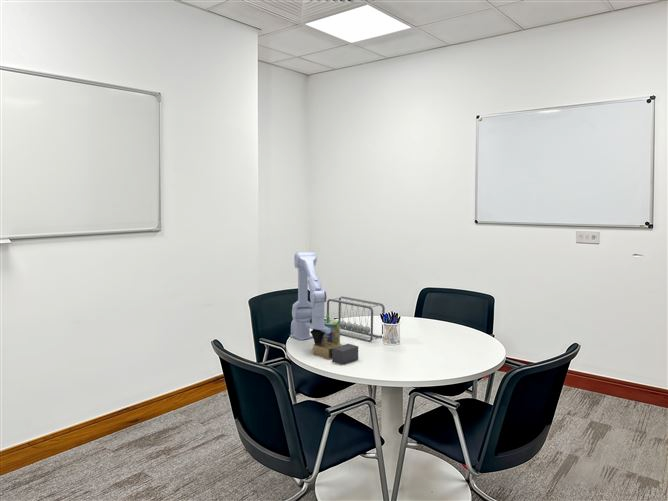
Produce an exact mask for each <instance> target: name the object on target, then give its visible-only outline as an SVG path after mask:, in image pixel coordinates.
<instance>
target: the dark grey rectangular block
mask: <svg viewBox="0 0 668 501" xmlns="http://www.w3.org/2000/svg"><path fill="white" fill-rule="evenodd" d="M331 359H332V360H331V361H332V363H334V362H335V363H334V364H337V363H338V365H341V366H344V365H347V364H350V363H352V362H356V361H359V346H358V345H355V344H350V343H346V344H345V343H344V344H341V346H338V347H335V348H332V352H331Z"/></svg>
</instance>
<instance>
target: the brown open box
mask: <svg viewBox="0 0 668 501" xmlns="http://www.w3.org/2000/svg"><path fill="white" fill-rule="evenodd" d="M338 346H342V344H339V345H337V344H334V343H330V342H327V341H325V342H321V343H317V344H315V343H314V344H312V354H313V355H314V356H317V357H320V358H322V357H323V359H325V358H326V360H331V359H332V358H331V352H332V348H335V347H338Z"/></svg>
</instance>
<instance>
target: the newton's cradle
mask: <svg viewBox="0 0 668 501" xmlns="http://www.w3.org/2000/svg"><path fill="white" fill-rule="evenodd" d="M347 300H348V301H347ZM330 302H332V303H338V320H337V321H340V330H344V331H349V332H353V333H356V332H357V334H360V335H366V336H369V337H370V338H369V339H367V338H363V337H360V336H356V335H351V334H347V333H342V332H340V336H343V337H347V338H351V339H355V340H360V341H364V342H367V343H370V342H372V341H373V340H377V339H382V334H383V325H382V324H381V335H378V334H374V309H373V308H374V307H378V306H381V308H382V309H381V310H382V311H381V315H382V314H385V312H386V311H385V305H384V304H383V303H380V302H376V301H370V300H365V299H359V298H354V297H353V298H352V297H348V296H343V295H342V296H340V297H336V298H328V299H327V300H326V315H327V314H328V315H329V316H330ZM342 304H343V305H345V308H344V309H345V310H346V312H344V314H343V316H345V314H349V313H348V311H349V310H347V306H348V305H349V306H351V308H350V310H353V309H354V307H357V311H360V309H359V308H363V312H362V313H361V317H363V315H364V314H363V313H364V312H366V311H365V309H368V310H369V311H370V313H367V314H368V315H367V318H369V316H370V326H368V325H369V324H368V322H369V321H367V319H366V317H364V318H365V319H364V322H366V325H365V326H364V325H363V324H362V322H363V320H361V318H360V315H358V319H359V320H360V323H359V325H358V324H357V323H356V322H357V320H354V323H352V322H351V320H350V318H347V320H348V322H346V321H345V318H342V312H343V311H342V310H343V309H342ZM353 306H354V307H353ZM355 313H356V314H355V315H354V313H353V315H352V313H350V315H349V317H351V316H353V318H355V317H354V316H357V314H358V312H355ZM329 318H330V317H329ZM329 318H328V320H329ZM341 318H342V319H341Z"/></svg>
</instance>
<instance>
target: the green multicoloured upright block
mask: <svg viewBox="0 0 668 501" xmlns="http://www.w3.org/2000/svg"><path fill="white" fill-rule="evenodd" d="M328 318H329V320H328ZM324 326H326V327H328V328H330V329H331V333H328V334H327V333H326V332H325V334H324V336H323V338H322V341H321V342H325V341H327V342H330V343H334V344H337V345H341V344H340V342H341V339H340V337H341V335H340V333H341V329H340V321H338V320H335V319H330V314H329V315H328V314H327V313H326V319H324Z"/></svg>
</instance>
